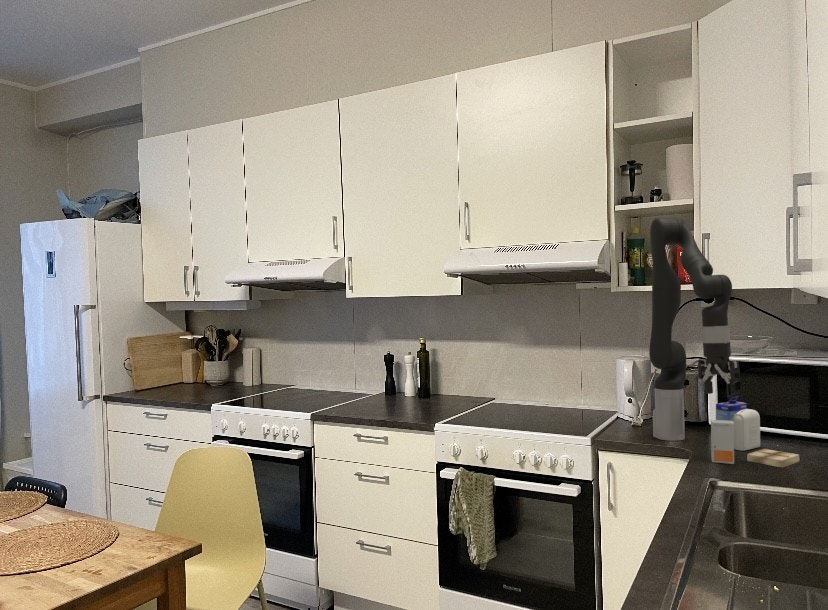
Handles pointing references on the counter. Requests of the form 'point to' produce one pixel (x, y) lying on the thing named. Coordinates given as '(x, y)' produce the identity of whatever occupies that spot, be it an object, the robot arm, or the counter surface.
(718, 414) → the ink cartridge box
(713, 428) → the skincare box
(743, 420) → the white rounded block
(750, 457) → the trivet
